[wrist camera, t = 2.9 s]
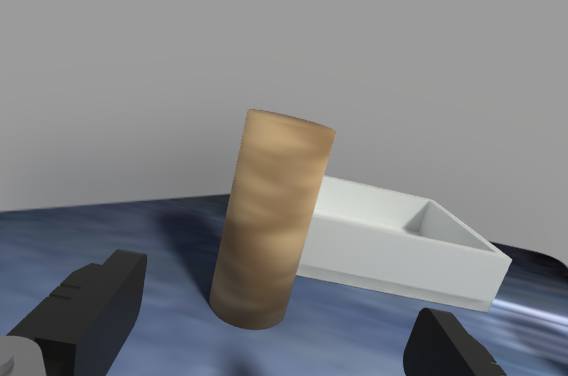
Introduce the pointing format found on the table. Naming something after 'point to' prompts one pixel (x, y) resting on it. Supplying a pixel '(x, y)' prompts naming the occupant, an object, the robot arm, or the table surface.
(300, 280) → the table surface
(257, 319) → the wooden cylinder
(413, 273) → the tote
